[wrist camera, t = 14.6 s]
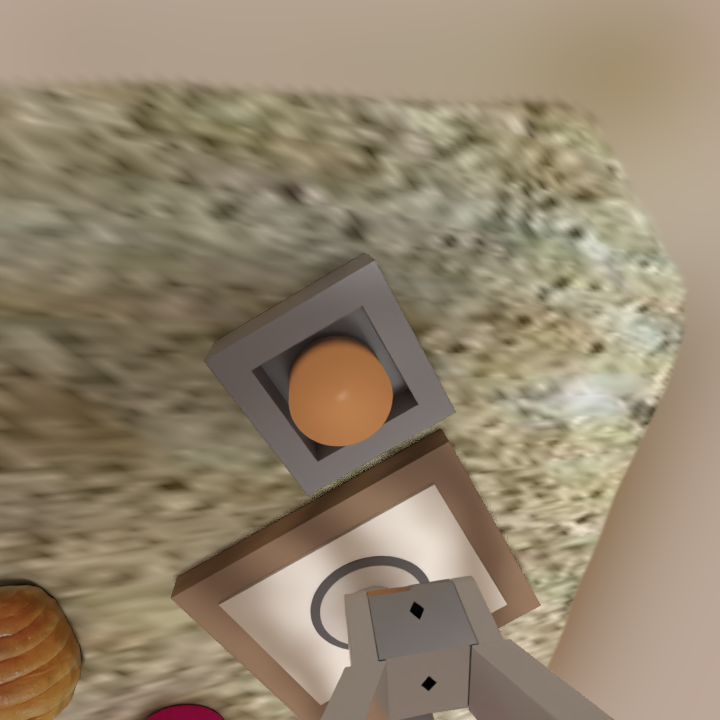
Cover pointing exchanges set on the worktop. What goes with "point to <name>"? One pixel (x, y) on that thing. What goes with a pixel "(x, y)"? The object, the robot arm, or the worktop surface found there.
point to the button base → (307, 324)
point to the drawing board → (349, 569)
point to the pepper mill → (185, 713)
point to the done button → (338, 391)
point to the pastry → (35, 655)
